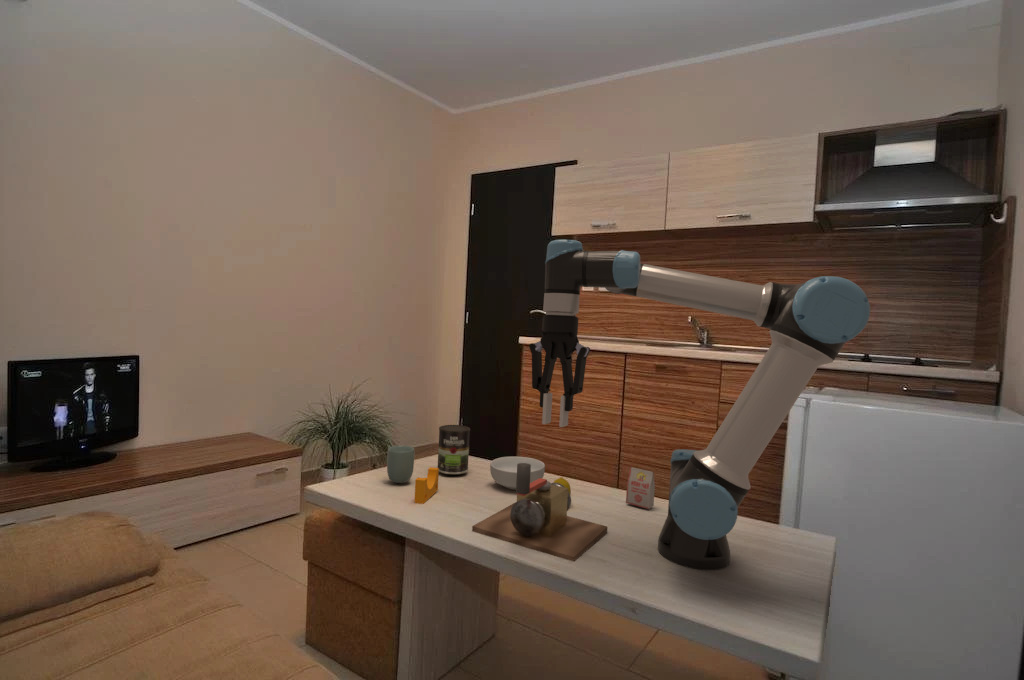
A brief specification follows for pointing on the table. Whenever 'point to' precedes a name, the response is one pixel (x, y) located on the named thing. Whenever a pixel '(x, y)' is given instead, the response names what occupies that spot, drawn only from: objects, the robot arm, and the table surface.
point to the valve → (541, 511)
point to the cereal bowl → (514, 470)
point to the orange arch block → (426, 486)
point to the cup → (400, 463)
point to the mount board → (561, 544)
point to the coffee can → (453, 449)
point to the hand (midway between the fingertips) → (554, 424)
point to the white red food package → (640, 488)
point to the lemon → (563, 483)
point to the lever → (528, 481)
